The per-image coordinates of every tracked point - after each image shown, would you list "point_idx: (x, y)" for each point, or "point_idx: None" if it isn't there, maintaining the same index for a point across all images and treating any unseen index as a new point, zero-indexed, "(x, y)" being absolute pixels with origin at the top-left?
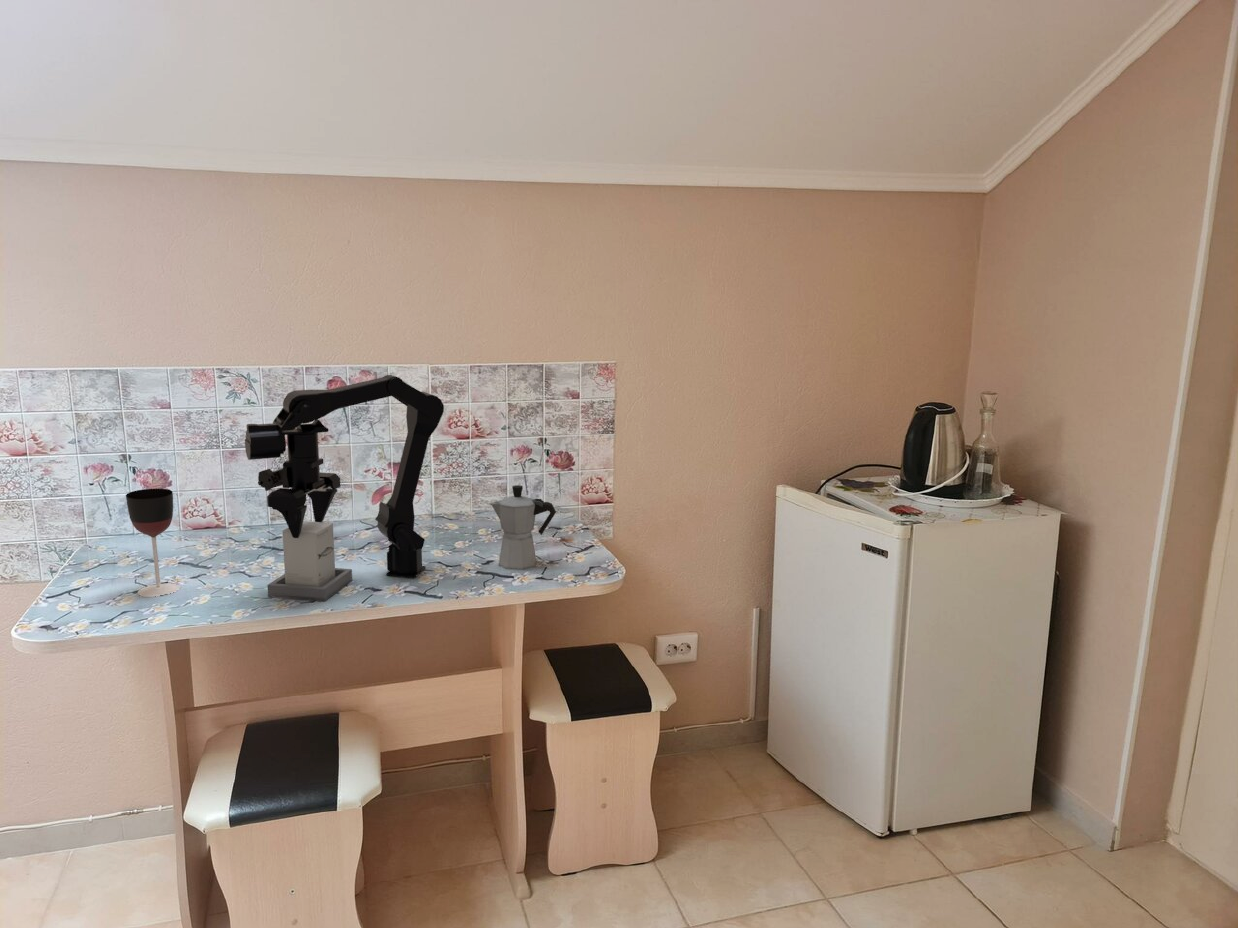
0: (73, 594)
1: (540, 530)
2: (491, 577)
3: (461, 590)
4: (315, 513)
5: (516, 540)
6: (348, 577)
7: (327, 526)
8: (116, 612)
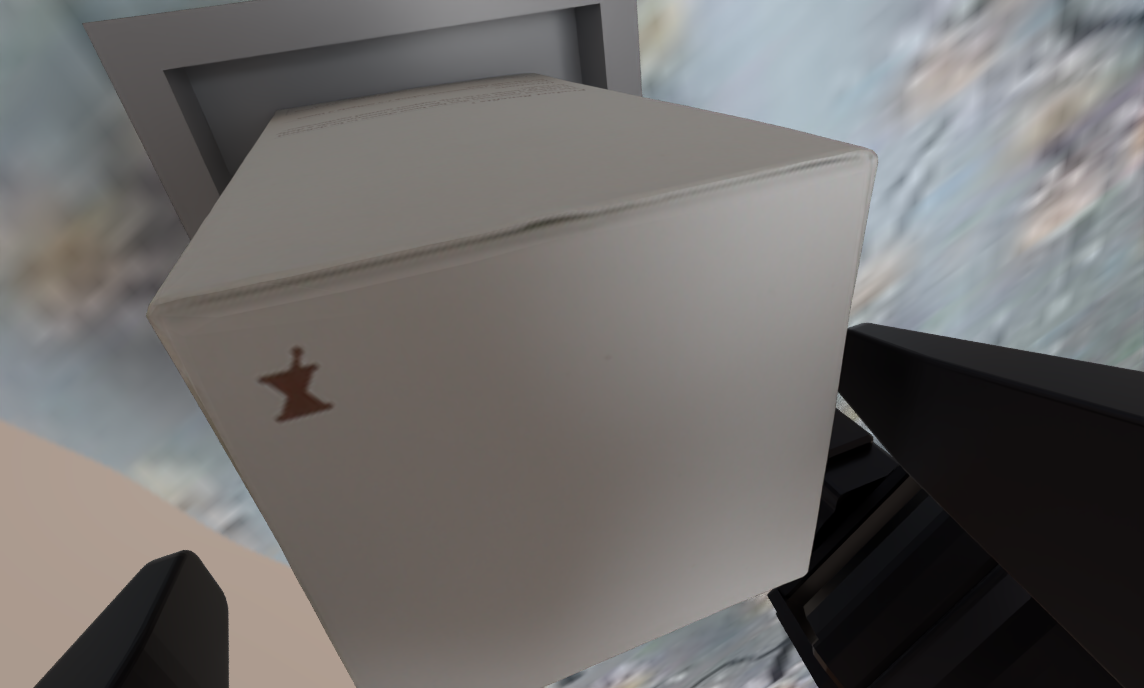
0: None
1: None
2: (765, 651)
3: (645, 673)
4: (1000, 413)
5: None
6: None
7: (685, 625)
8: None
